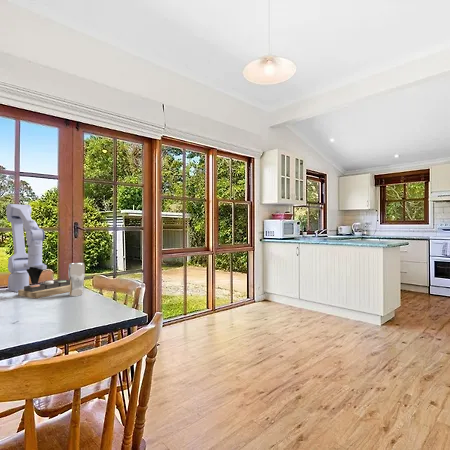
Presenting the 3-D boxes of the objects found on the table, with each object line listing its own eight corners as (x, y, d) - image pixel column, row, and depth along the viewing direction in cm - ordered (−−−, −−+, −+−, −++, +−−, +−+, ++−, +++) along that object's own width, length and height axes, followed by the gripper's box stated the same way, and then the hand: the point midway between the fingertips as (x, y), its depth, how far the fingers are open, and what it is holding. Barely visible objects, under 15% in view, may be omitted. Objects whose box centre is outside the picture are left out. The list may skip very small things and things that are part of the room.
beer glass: (80, 296, 144) (80, 264, 144) (65, 296, 144) (65, 264, 144) (87, 293, 150) (87, 262, 151) (72, 293, 151) (73, 262, 151)
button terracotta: (27, 290, 144) (27, 286, 144) (36, 288, 148) (36, 284, 148) (33, 290, 143) (33, 286, 143) (41, 289, 146) (41, 285, 146)
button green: (55, 285, 157) (55, 281, 157) (62, 283, 160) (63, 280, 160) (60, 285, 155) (61, 282, 155) (68, 284, 159) (68, 281, 159)
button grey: (42, 285, 151) (42, 281, 151) (50, 283, 154) (50, 280, 154) (47, 285, 149) (47, 282, 149) (55, 284, 152) (55, 281, 152)
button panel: (18, 295, 145) (18, 285, 145) (59, 287, 164) (59, 279, 164) (36, 298, 139) (36, 288, 139) (77, 290, 158) (77, 281, 158)
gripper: (53, 255, 146) (52, 283, 146) (34, 253, 152) (33, 281, 152) (38, 256, 139) (38, 286, 139) (19, 254, 146) (18, 283, 146)
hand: (34, 283), depth 145 cm, fingers closed
